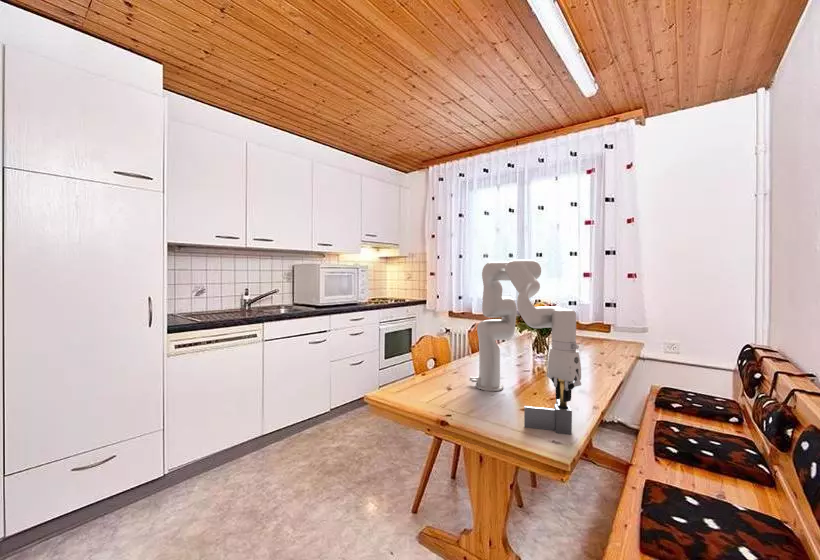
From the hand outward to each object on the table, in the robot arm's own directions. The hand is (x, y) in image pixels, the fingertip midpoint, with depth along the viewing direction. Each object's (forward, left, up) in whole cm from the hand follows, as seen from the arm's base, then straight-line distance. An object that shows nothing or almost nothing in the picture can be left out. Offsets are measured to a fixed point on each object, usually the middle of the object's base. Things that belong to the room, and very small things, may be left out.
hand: (563, 399), depth 119 cm
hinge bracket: (-5, +5, -11) cm, 13 cm away
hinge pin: (0, 0, -2) cm, 2 cm away
